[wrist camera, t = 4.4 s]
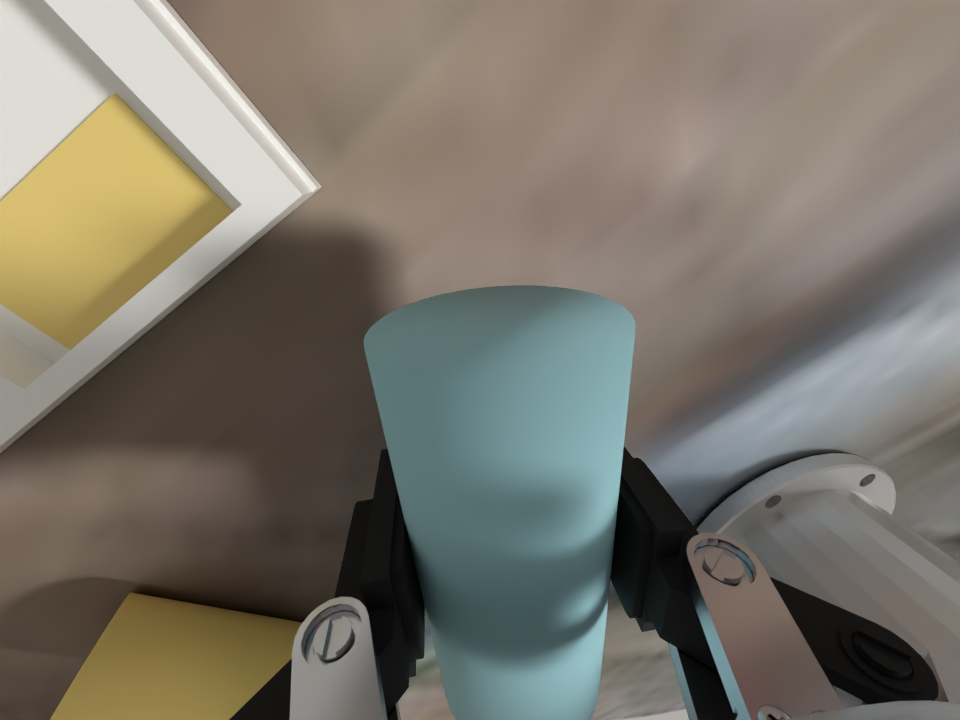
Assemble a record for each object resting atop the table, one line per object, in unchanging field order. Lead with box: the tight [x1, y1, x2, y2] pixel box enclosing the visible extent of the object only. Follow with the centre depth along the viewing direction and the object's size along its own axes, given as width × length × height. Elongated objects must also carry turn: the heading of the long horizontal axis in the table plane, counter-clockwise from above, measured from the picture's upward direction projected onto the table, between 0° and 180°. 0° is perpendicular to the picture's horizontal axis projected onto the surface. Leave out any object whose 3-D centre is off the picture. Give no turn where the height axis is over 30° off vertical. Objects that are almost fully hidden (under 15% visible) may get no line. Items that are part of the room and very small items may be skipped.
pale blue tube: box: [363, 286, 636, 720], centre depth 9 cm, size 11×5×5 cm, turn 4°
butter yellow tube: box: [50, 593, 302, 720], centre depth 16 cm, size 11×5×5 cm, turn 54°
